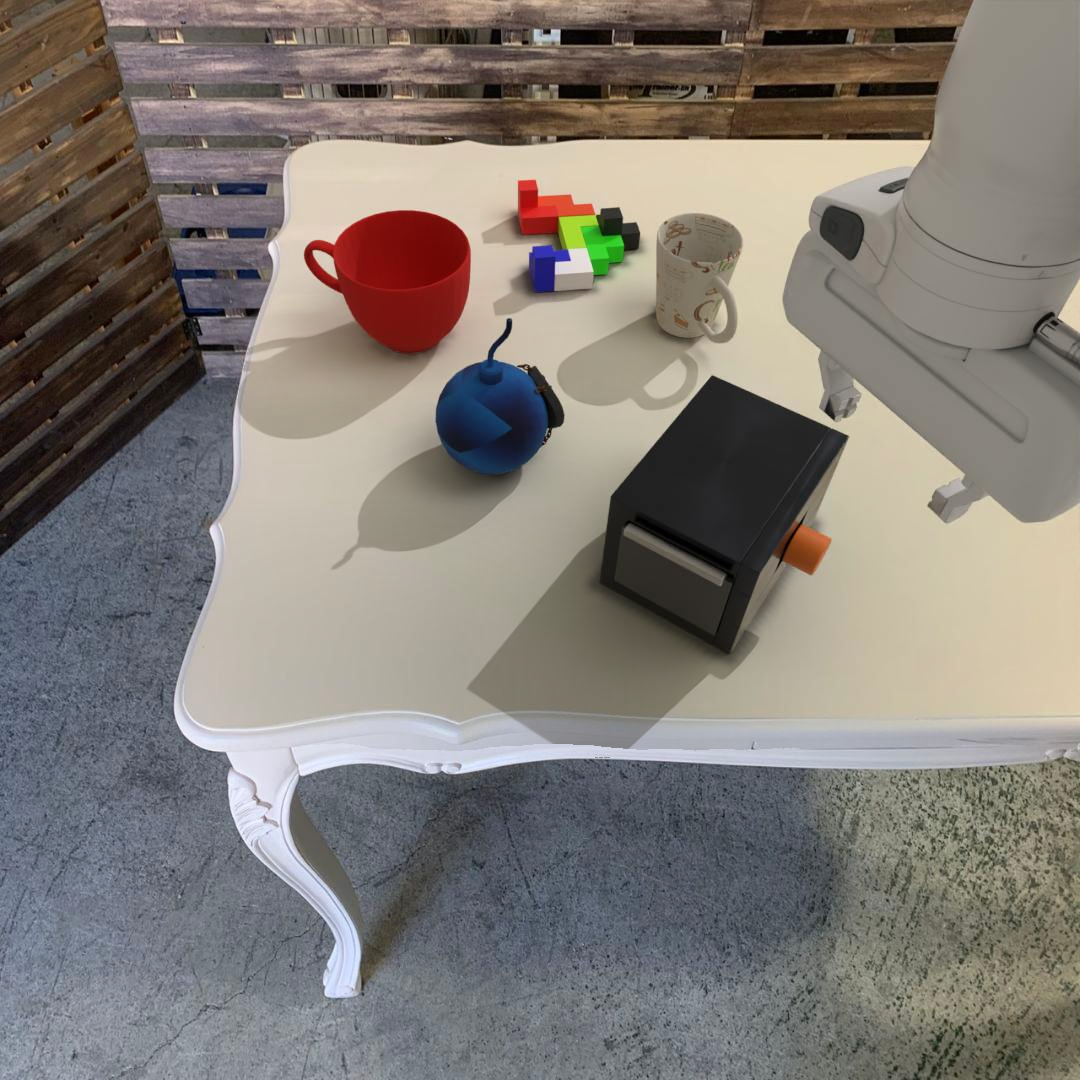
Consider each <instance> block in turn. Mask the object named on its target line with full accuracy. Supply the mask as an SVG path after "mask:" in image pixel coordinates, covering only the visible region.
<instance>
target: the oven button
mask: <svg viewBox="0 0 1080 1080" xmlns="http://www.w3.org/2000/svg"><path fill="white" fill-rule="evenodd" d="M831 543H832V538H831V537H829V536H827V535H826V534H823V533H822V532H819V531H817V530H815V529H813V528H811V527H810V528H809V527H807V526H805V525H801V526H800V527H799V528H798V529H797V531H796V533H795V534H794V536H793V538H792V539H791V541H790V543H789V545H788V547H787V549H786V551H785V553H784V556H783V559H782V561H783V562H785V563H787V565H789V566H791V567H793V568H795V569H797V570H799V571H801V572H803V573H806V574H807V575H808V576H814V574H815V572H816V571H817V569H818V568H819V566H820V564H821V562H822V561H823V559H824V557H825V555H826V553H827V551H828V549H829V548H830V546H831Z"/></svg>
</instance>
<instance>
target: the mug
mask: <svg viewBox="0 0 1080 1080" xmlns="http://www.w3.org/2000/svg"><path fill="white" fill-rule="evenodd" d="M655 246H656V247H655V248H656V249H655V250H656V254H655V255H656V261H655V263H656V264H655V265H656V268H655V272H656V273H655V274H656V275H655V276H656V278H655V279H656V280H655V284H656V285H655V288H656V289H655V294H656V295H655V299H656V300H655V306H656V307H655V308H656V309H655V313H656V314H655V318H656V322H657V324H658V325H659V327H660V328H661V329H662V330H663V331H664V332H666V333H668V334H670V335H672V336H674V337H678V338H684V339H692V338H698V337H702V336H705V337H706V338H707V339H708V340H709V341H711V343H715V344H727V343H729V342H730V341H731V340H732V339H733V338H734V337H735V334H736V331H737V328H738V321H739V320H738V319H739V317H738V316H739V315H738V308H737V302H736V299H735V295H734V293H733V291H732V290H731V289H730V287H729V285H730V282H731V280H732V277H733V275H734V272H735V269H736V267H737V264H738V263H739V260H740V257H741V254H742V251H743V247H744V238H743V235H742V233H741V231H740V230H739V229H738V228H737V227H736V226H735V225H734V224H732V223H731V222H730V221H728V220H726V219H724V218H722V217H719V216H716V215H713V214H708V213H702V212H701V213H700V212H688V213H681V214H677V215H674V216H671V217H669V218H668V219H665V221H663V222H662V224H661V225H660V226H659V227H658V230H657V233H656V245H655ZM723 302H724V304H725V308H726V314H727V320H726V326H725V328H724V329H723V330H722V331H721V332H718V333H715V331H713V330H712V327H713V326H714V324H715V321H716V320H717V316H718V313H719V311H720V308H721V306H722V303H723Z"/></svg>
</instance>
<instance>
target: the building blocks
mask: <svg viewBox="0 0 1080 1080" xmlns="http://www.w3.org/2000/svg"><path fill="white" fill-rule="evenodd" d="M517 217H518V221H519V225H520V229H521V230H520V231H521V235H522V236H524V235H525V236H527V235H544V234H545V235H546V234H558V238H559V242H560V245H561V246H560V247H561V249H557V250H554V246H553V244H548V245H547V244H545V245H534V246H533V245H532V247H531V248H532V249H531V252H528V272H529V275H530V278H531V283H532V286H533V291H534V293H545V292H561V291H576V290H577V291H578V290H590V289H591V290H592V289H593V285H594V284H593V283H594V276H602V275H608V274H609V266H610V264H611V263H623V262H624V253H625V251H627V250H629V251H630V250H639V248H640V239H641V231H640V228H639V226H638V222H636V221H634V222H633V221H631V222H624V216H623V213H622V210H621V208H620V206H616V207H605V208H604V207H603V208H602V207H601V208H600V213H599V214H596V211H595V209H594V206H593V203H592V202H591V203H577V204H575V203H574V200H573V197H572V194H571V193H570V194H557V195H556V194H553V195H551V194H550V195H539V186H538V183H537V179H523V180H520V179H519V180H517Z"/></svg>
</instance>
